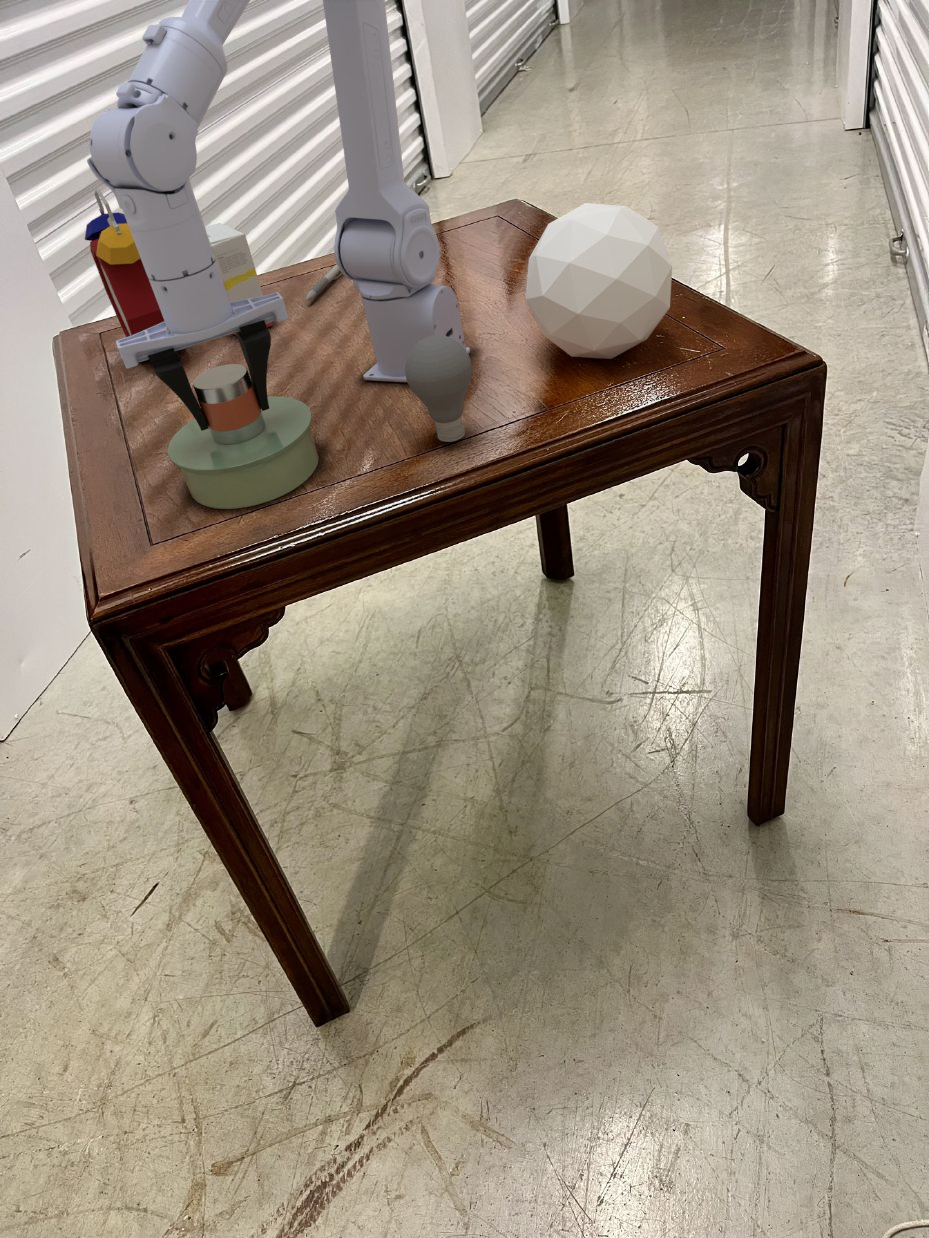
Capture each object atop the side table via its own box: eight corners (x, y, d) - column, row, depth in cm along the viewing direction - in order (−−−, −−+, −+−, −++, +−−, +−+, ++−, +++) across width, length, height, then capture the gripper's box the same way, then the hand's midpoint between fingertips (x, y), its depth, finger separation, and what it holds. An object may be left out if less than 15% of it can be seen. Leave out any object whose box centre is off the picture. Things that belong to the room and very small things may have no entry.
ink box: (274, 326, 120) (246, 231, 113) (240, 340, 118) (208, 244, 111) (248, 311, 126) (218, 220, 119) (214, 324, 124) (182, 232, 117)
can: (260, 412, 90) (241, 358, 87) (271, 433, 86) (252, 377, 83) (208, 429, 89) (188, 375, 86) (217, 451, 85) (196, 395, 82)
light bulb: (408, 445, 89) (385, 345, 83) (453, 418, 92) (433, 319, 86) (451, 461, 86) (430, 358, 79) (496, 432, 88) (479, 330, 82)
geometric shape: (618, 376, 104) (670, 239, 101) (655, 384, 90) (717, 224, 86) (497, 331, 102) (546, 189, 98) (516, 332, 88) (574, 165, 84)
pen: (350, 266, 133) (347, 256, 132) (312, 306, 123) (309, 295, 122) (343, 266, 133) (341, 256, 133) (305, 306, 123) (302, 296, 123)
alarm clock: (126, 344, 124) (60, 184, 111) (188, 323, 126) (131, 164, 114) (149, 380, 113) (78, 207, 100) (217, 356, 115) (157, 184, 103)
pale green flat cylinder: (350, 442, 92) (338, 400, 89) (271, 520, 83) (255, 476, 80) (240, 432, 98) (226, 392, 95) (156, 503, 89) (137, 462, 86)
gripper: (256, 232, 83) (298, 376, 91) (91, 280, 80) (151, 423, 88) (273, 252, 77) (316, 403, 86) (97, 303, 74) (160, 454, 83)
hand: (234, 415), depth 87 cm, fingers closed on can, 5 cm apart
